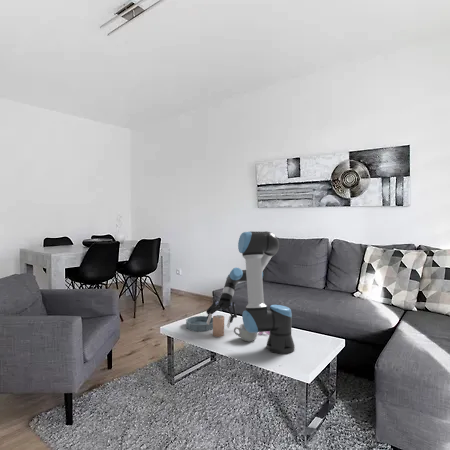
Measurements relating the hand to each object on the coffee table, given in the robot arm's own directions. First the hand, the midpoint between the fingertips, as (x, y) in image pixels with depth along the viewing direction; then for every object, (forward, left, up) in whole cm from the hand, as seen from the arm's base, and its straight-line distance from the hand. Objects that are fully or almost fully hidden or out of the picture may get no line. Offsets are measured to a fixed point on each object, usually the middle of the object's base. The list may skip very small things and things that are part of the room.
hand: (217, 325), depth 208 cm
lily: (-25, -14, -6) cm, 29 cm away
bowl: (+17, -10, -6) cm, 20 cm away
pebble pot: (0, 0, -6) cm, 6 cm away
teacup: (-18, +1, -6) cm, 19 cm away
